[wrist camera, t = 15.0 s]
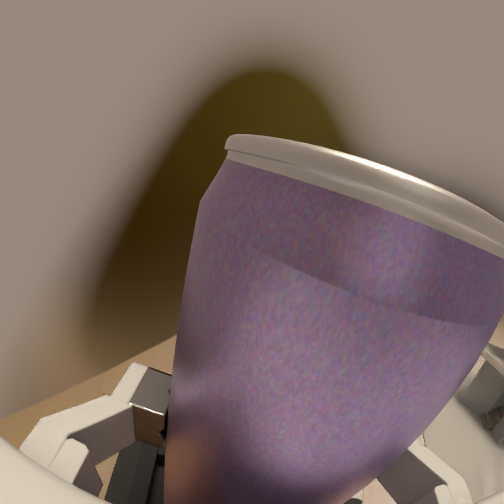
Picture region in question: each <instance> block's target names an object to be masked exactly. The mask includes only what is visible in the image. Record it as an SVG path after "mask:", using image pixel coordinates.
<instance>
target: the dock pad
mask: <svg viewBox="0 0 504 504" xmlns="http://www.w3.org/2000/svg"><path fill="white" fill-rule="evenodd" d="M165 452H166V441H165V444H164V446H163V449H162V448H159V447H155V446H152V445H149V444H146V443H143V442H140V441H137V440H135V442H134V443H132V444H131V445H129V446H127V447H126V448H124V449H123V450H121V451H120V452H119V455H118V458H117V461H116V464H115V467H114V470H113V473H112V476H111V479H110V483H109V486H108V489H107V492H106V496H105V499H104V500H105V501H108V502H110V503H112V504H164V471H165Z"/></svg>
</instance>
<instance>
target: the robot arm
mask: <svg viewBox="0 0 504 504" xmlns="http://www.w3.org/2000/svg"><path fill="white" fill-rule="evenodd" d="M171 380H172V375H170V374H167V373H164V372H162V371H159V370H156V369H153V368H151V367H147V366H145V365H142V364H140V363H137V362H133V363H132V364H131V365H130V366H129V368H128V369H127V371H126V372H125V374H124V375H123V377H122V379H121V380H120V382H119V383H118V385H117V386H116V388H115V390H114V391H113V393H112V394H111V396H108V395H104V396H101V397H98V398H96V399H93V400H91V401H88V402H85V403H83V404H80V405H77V406H75V407H72V408H69V409H66V410H64V411H61V412H58V413H55V414H52V415H49V416H46V417H43V418H41V419H40V420H39V422H38V423H37V424H36V426H35V427H34V428H33V430H32V431H31V432H30V434H29V435H28V437H27V438H26V439H25V441H24V442H23V443H22V445H21V446H20V448H19V449H17V448H15V447H14V446H13V445H12V444H10V443H9V442H8V441H7V440H5V439H4V438H3V437H2V436H0V504H112V503H110V502H108V501H105V500H103V499H101V498H99V497H98V495H99V493H100V491H101V488H102V486H103V483H102V481H101V479H100V477H99V474H98V472H97V470H96V468H95V466H96V465H97V464H99V463H101V462H103V461H104V460H106V459H108V458H109V457H111V456H113V455H114V454H116V453H118V452H119V451H121V450H123V449H124V448H126V447H127V446H129V445H131V444H132V443H134V442H135V440H137V441H140V442H143V443H146V444H149V445H152V446H155V447H159V448H162V449H163V446H164V444H165V441H166V436H167V423H168V411H169V400H170V390H171ZM376 478H377V479H378V481H379V482H380V483H381V484H382V486H383V487H384V488H385V489H386V491H387V492H388V493H389V494H390V495H391V497H392V498H393V499H394V500H395V502H396V503H397V504H504V489H502V490H500V491H498V492H497V493H495V494H493V495H491V496H489V497H487V498H485V499H483V500H480V501H478V502H476V503H473V500H472V497H471V495H470V492H469V490H468V487H467V484H466V482H465V479H464V477H462V476H461V475H460V474H459V473H457V472H456V471H455V470H454V469H452V468H451V467H450V466H449V465H447V464H446V463H445V462H444V461H442V460H441V459H440V458H439V457H438V456H436V455H435V454H434V453H433V452H431V451H430V450H429V449H428V448H427V447H425V446H421V444H420V442H419V439H418V438H417V439H416V440H415V441H414V442H413V443H412V445H411V446H410V447H409V448H408V449H407V450H406V451H405V452H404V453H403V454H402V455H401V456H400V457H399V458H397V459H396V460H395V461H394V462H393V463H392V464H391V465H390V466H389V467H388V468H387V469H386V470H385V471H383V472H382V473H381V474H380V475H379V476H378V477H376Z"/></svg>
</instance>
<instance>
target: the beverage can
mask: <svg viewBox="0 0 504 504" xmlns="http://www.w3.org/2000/svg"><path fill="white" fill-rule="evenodd" d="M225 149H226V150H228V154H227V157H226V159H225V161H224V163H223V165H222V167H221V168H220V170H219V171H218V173H217V175H216V177H215V178H214V180H213V181H212V183H211V185H210V186H209V188H208V190H207V191H206V193H205V194H204V196H203V198H202V199H201V201H200V205H199V210H198V215H197V220H196V224H195V229H194V235H193V240H192V246H191V251H190V256H189V262H188V267H187V273H186V279H185V285H184V291H183V298H182V305H181V310H180V317H179V324H178V331H177V339H176V346H175V354H174V362H173V371H172V380H171V390H170V400H169V411H168V423H167V436H166V452H165V471H164V504H343V503H345V502H346V501H348V500H349V499H350V498H352V497H353V496H354V495H356V494H357V493H358V492H359V491H361V490H362V489H363V488H364V487H366V486H367V485H368V484H369V483H371V482H372V481H373V480H374V479H375V478H376V477H378V476H379V475H380V474H381V473H382V472H383V471H385V470H386V469H387V468H388V467H389V466H390V465H391V464H392V463H393V462H394V461H395V460H396V459H397V458H399V457H400V456H401V455H402V454H403V453H404V452H405V451H406V450H407V449H408V448H409V447H410V446H411V445H412V443H413V442H414V441H415V440H416V439H417V438H418V437H419V436H420V435H421V434H422V433H423V432H424V431H425V429H426V428H427V427H428V426H429V425H430V424H431V423H432V421H433V420H434V419H435V418H436V417H437V415H438V414H439V413H440V412H441V411H442V409H443V408H444V407H445V406H446V404H447V403H448V402H449V400H450V399H451V398H452V396H453V395H454V394H455V392H456V391H457V390H458V388H459V387H460V385H461V384H462V383H463V381H464V380H465V378H466V377H467V375H468V374H469V372H470V371H471V369H472V368H473V366H474V365H475V363H476V362H477V360H478V358H479V357H480V355H481V353H482V352H483V350H484V348H485V347H486V345H487V343H488V342H489V340H490V338H491V336H492V334H493V333H494V331H495V329H496V327H497V325H498V323H499V321H500V319H501V317H502V313H503V308H504V223H503V222H501V221H500V220H498V219H497V218H495V217H494V216H492V215H490V214H489V213H488V212H486V211H484V210H483V209H481V208H479V207H477V206H475V205H474V204H472V203H470V202H468V201H466V200H464V199H463V198H461V197H459V196H457V195H455V194H453V193H451V192H449V191H446V190H444V189H442V188H440V187H438V186H435V185H433V184H431V183H429V182H426V181H424V180H422V179H419V178H417V177H414V176H412V175H409V174H407V173H404V172H402V171H399V170H396V169H393V168H391V167H388V166H385V165H382V164H379V163H376V162H373V161H370V160H367V159H364V158H361V157H357V156H354V155H350V154H347V153H343V152H340V151H336V150H332V149H328V148H324V147H319V146H316V145H311V144H307V143H301V142H297V141H292V140H286V139H280V138H274V137H267V136H259V135H248V134H235V135H232V136H230V137H229V138H228V139H227V141H226V145H225Z"/></svg>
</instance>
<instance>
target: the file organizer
mask: <svg viewBox="0 0 504 504" xmlns="http://www.w3.org/2000/svg"><path fill="white" fill-rule="evenodd" d="M481 355H482V356H483V357H484V358H485V359H486V361H485V362H484V364H483V366H482V367H481V369H480V370H479V372H478V373H477V374H474V373H470V372H469V374H468V375H467V377H466V378H465V380H464V381H463V383H462V384H461V385H460V387H459V388H458V390H457V391H456V392H455V394H454V395H453V396H452V398H451V399H450V400H449V402H448V403H447V404H446V406H445V407H444V408H443V409H442V411H441V412H440V413H439V414H438V415H437V417H436V418H435V419H434V420H433V421H432V423H431V424H430V425H429V426H428V427H427V428H426V429H425V431H424V432H423V435H424V440H425V445H426V447H427V448H428V449H429V450H430V451H431V452H433V453H434V454H435V455H436V456H438V457H439V458H440V459H441V460H442V461H444V462H445V463H446V464H447V465H449V466H450V467H451V468H452V469H454V470H455V471H456V472H457V473H459V474H460V475H461V476H462V477H464V479H465V482H466V484H467V487H468V490H469V492H470V495H471V497H472V500H473V503H476V502H478V501H480V500H483V499H485V498H487V497H489V496H491V495H493V494H495V493H497V492H498V491H500V490H502V489H504V349H502V348H499V347H497V346H494V345H492V344H489V343H487V345H486V347H485V348H484V350H483V352H482V353H481Z"/></svg>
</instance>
